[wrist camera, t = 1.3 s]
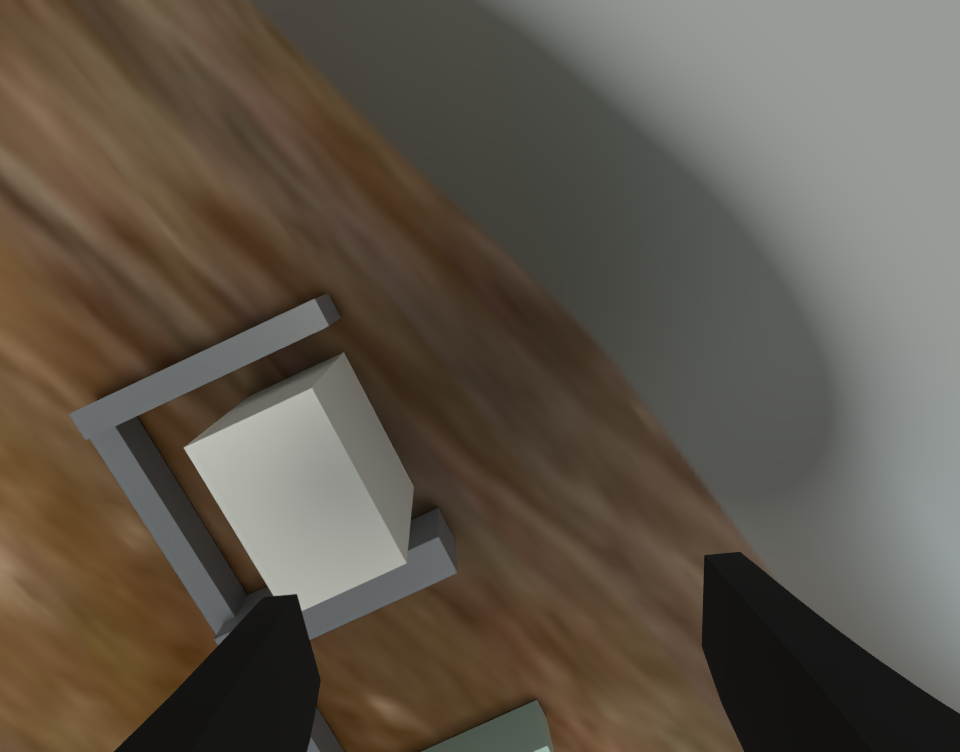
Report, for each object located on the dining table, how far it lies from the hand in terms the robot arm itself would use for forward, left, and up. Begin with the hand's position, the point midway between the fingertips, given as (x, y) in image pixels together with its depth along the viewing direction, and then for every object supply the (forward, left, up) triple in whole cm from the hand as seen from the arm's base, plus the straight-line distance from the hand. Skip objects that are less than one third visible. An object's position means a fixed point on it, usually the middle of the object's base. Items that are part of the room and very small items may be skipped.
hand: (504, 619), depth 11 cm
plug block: (-5, +1, -13) cm, 14 cm away
